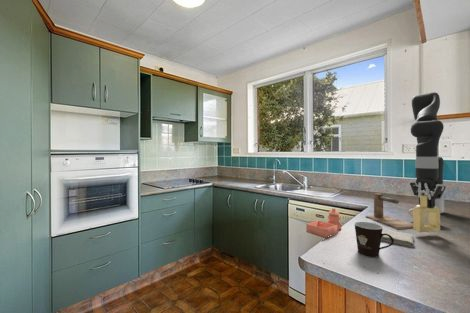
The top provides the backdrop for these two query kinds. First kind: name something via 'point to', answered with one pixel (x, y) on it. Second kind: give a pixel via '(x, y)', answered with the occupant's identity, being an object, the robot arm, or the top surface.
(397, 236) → the washcloth
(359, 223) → the coffee mug
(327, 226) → the pottery
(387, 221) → the walnut stand
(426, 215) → the teacup with lid
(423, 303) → the top surface
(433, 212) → the brass link
